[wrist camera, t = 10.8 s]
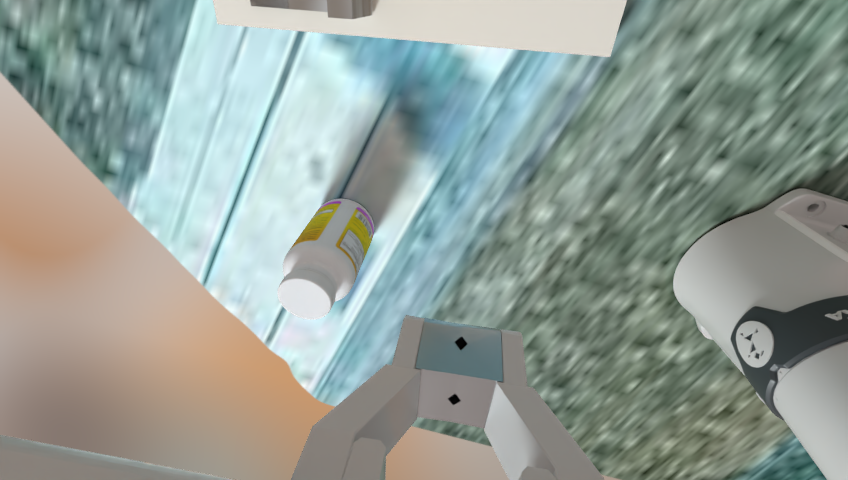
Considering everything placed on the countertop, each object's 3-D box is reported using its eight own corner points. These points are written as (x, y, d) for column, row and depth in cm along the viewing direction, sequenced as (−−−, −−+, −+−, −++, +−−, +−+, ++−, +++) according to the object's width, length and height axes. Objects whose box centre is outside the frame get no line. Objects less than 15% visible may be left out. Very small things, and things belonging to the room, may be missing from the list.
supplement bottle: (312, 234, 44) (259, 311, 34) (325, 186, 41) (271, 256, 30) (366, 255, 45) (331, 337, 34) (384, 210, 41) (351, 286, 31)
